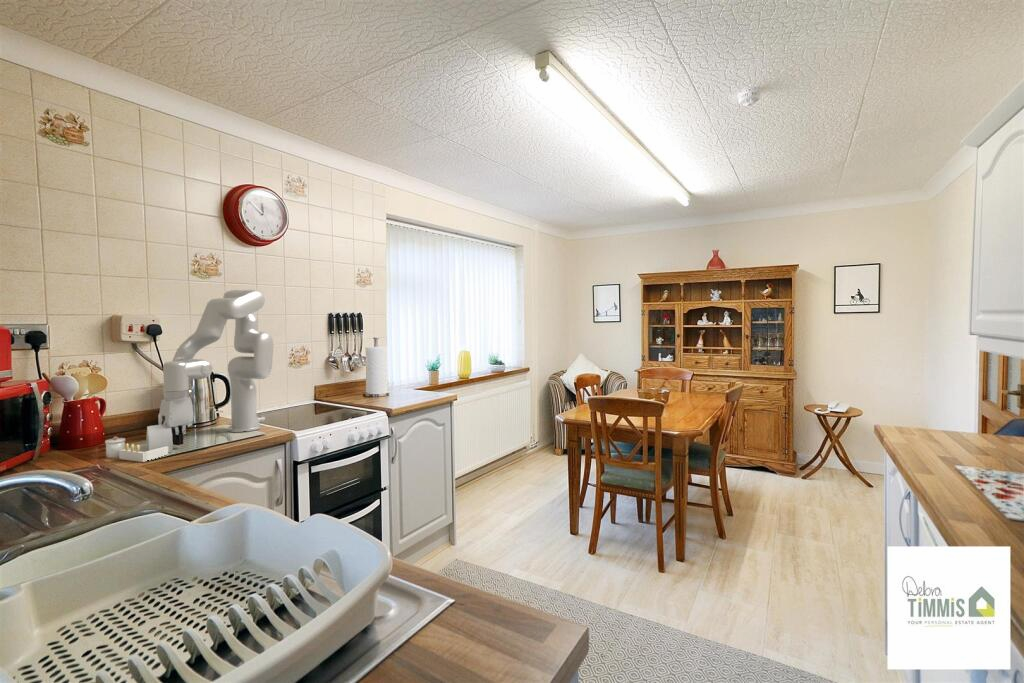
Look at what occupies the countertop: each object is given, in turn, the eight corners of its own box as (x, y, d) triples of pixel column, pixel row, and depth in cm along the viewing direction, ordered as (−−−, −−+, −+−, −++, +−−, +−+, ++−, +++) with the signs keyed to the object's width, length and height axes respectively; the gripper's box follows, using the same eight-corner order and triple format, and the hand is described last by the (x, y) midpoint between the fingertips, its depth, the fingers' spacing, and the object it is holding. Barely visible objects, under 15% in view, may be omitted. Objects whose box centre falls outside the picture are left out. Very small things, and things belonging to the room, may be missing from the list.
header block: (145, 452, 167) (145, 437, 167) (168, 455, 164) (168, 439, 164) (119, 459, 159) (118, 443, 159) (143, 462, 156) (142, 445, 155)
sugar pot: (118, 453, 166) (118, 434, 166) (129, 454, 165) (129, 435, 164) (101, 457, 161) (101, 437, 161) (112, 458, 159) (112, 438, 159)
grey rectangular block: (172, 451, 168) (172, 424, 167) (149, 455, 163) (148, 427, 162) (169, 450, 170) (169, 422, 170) (146, 453, 165) (146, 425, 165)
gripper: (188, 391, 180) (189, 438, 181) (148, 397, 166) (149, 448, 167) (203, 392, 178) (204, 440, 179) (164, 398, 164) (165, 450, 165)
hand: (178, 444), depth 173 cm, fingers closed
